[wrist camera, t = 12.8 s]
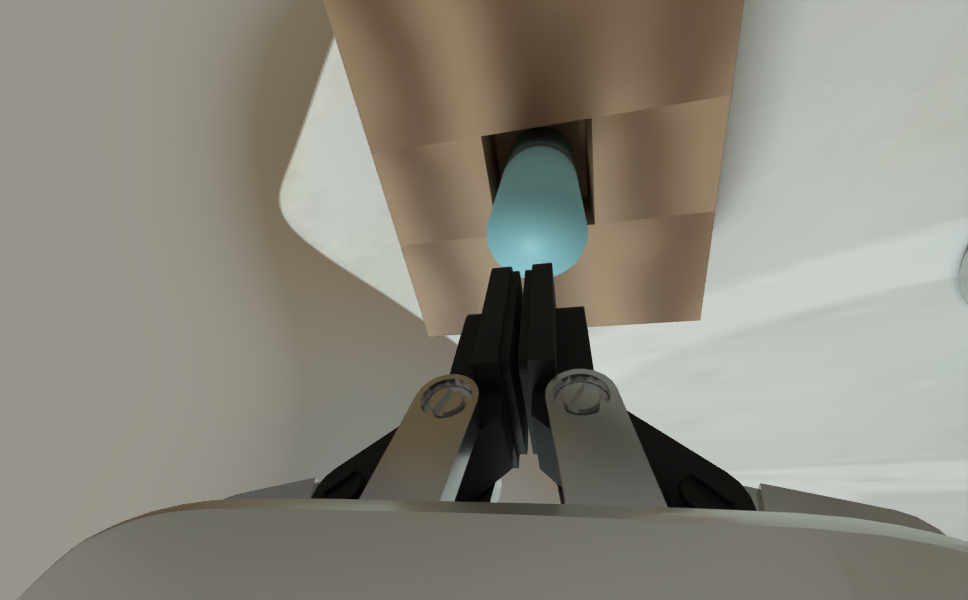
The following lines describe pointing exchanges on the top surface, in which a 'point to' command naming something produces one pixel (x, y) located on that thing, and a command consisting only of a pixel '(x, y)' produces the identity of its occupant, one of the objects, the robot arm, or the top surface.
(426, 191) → the socket block
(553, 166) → the peg
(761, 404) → the top surface
